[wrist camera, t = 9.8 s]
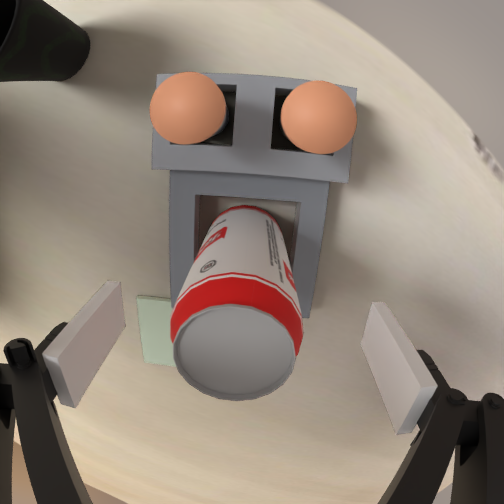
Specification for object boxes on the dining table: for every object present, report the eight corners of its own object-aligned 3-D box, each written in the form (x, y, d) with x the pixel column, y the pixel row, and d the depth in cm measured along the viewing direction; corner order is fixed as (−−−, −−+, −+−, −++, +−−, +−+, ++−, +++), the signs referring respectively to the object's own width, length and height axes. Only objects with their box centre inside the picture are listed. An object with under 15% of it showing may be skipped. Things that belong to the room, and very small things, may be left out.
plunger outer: (271, 145, 24) (279, 149, 16) (275, 95, 22) (285, 76, 15) (322, 151, 24) (353, 158, 16) (327, 101, 22) (359, 87, 15)
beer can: (201, 260, 28) (151, 389, 13) (219, 193, 26) (172, 272, 11) (269, 279, 29) (280, 419, 14) (291, 214, 27) (334, 316, 12)
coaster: (145, 358, 33) (144, 362, 32) (138, 295, 30) (136, 298, 29) (217, 367, 33) (217, 371, 32) (219, 303, 30) (218, 306, 29)
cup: (115, 30, 21) (39, -15, 10) (73, 103, 23) (-19, 98, 12) (61, 10, 20) (-16, -25, 8) (24, 77, 22) (-62, 69, 11)
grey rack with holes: (167, 293, 30) (155, 315, 26) (171, 82, 23) (156, 73, 19) (315, 304, 30) (323, 328, 26) (342, 94, 23) (357, 88, 20)
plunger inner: (181, 140, 24) (147, 144, 16) (184, 91, 22) (152, 73, 15) (232, 142, 24) (221, 145, 16) (236, 92, 22) (226, 72, 15)
